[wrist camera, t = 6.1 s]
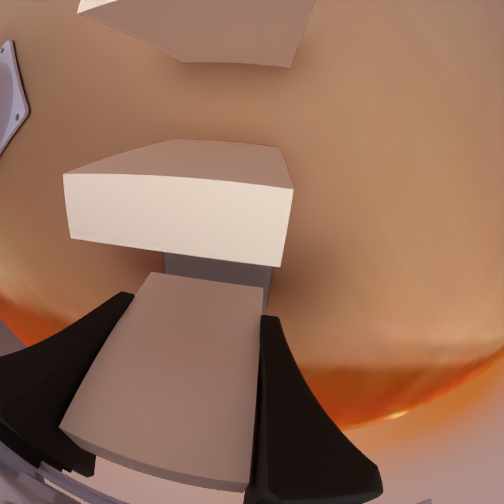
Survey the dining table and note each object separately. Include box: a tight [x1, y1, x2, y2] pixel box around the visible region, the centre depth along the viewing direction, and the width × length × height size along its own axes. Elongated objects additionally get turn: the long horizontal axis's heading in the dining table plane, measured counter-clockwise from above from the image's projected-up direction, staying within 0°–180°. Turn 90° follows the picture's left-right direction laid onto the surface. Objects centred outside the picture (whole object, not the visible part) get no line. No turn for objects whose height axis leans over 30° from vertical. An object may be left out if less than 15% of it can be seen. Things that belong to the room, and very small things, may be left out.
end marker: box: [164, 252, 273, 312], centre depth 15 cm, size 6×6×1 cm
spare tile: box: [59, 272, 263, 493], centre depth 8 cm, size 2×5×8 cm, turn 84°
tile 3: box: [77, 0, 316, 69], centre depth 6 cm, size 2×5×8 cm, turn 84°
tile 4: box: [63, 139, 294, 267], centre depth 9 cm, size 2×5×8 cm, turn 84°
